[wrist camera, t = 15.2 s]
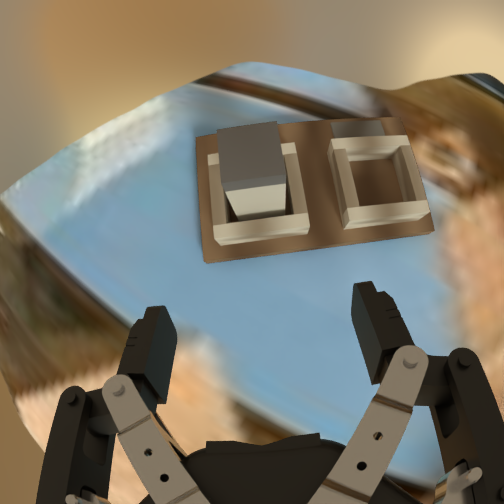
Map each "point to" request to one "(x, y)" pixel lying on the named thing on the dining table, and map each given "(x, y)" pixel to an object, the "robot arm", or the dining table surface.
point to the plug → (253, 170)
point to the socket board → (321, 191)
